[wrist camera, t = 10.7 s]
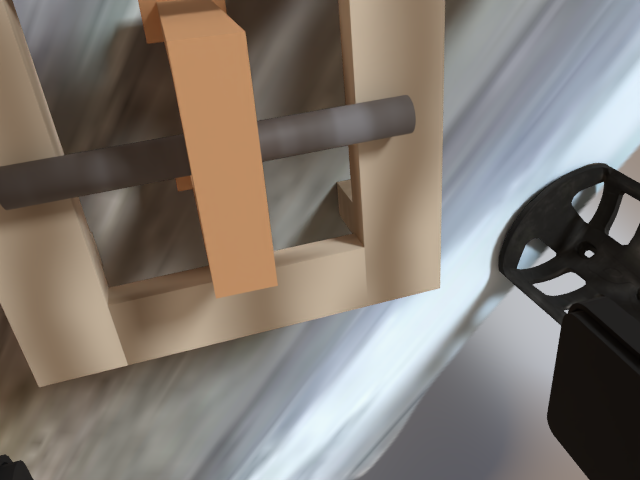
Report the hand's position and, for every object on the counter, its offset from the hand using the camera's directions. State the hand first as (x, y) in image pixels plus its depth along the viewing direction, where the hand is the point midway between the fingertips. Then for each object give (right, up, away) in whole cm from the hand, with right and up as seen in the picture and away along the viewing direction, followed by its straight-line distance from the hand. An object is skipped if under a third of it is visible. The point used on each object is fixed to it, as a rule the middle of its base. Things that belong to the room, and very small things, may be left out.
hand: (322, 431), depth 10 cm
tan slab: (-7, +11, +21) cm, 24 cm away
